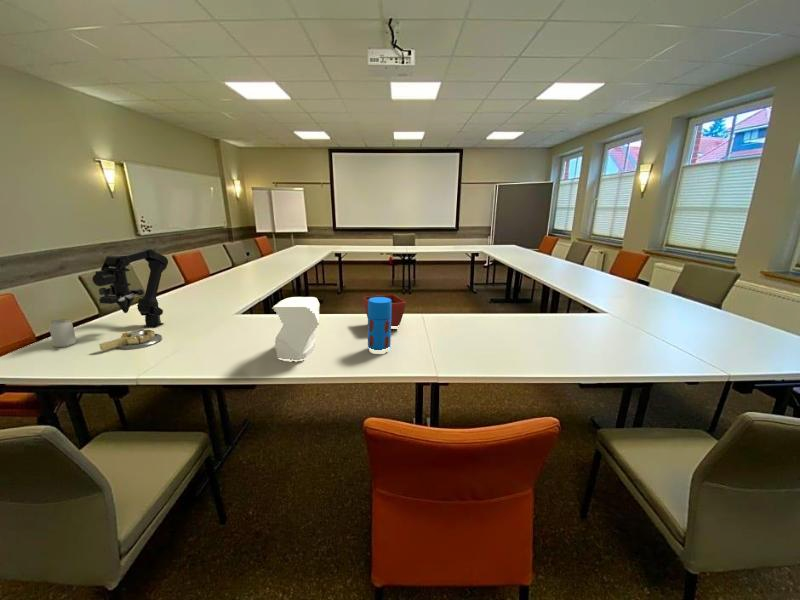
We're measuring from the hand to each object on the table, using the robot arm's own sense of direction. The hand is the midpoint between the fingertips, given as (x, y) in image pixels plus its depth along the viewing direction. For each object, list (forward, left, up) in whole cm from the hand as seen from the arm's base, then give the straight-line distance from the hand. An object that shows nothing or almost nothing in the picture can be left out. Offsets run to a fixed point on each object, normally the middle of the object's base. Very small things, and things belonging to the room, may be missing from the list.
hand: (125, 312), depth 163 cm
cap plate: (+7, +11, -12) cm, 18 cm away
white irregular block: (+8, +92, -12) cm, 93 cm away
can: (+15, -18, -12) cm, 26 cm away
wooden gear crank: (+11, +9, -11) cm, 18 cm away
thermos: (-1, +126, -12) cm, 127 cm away
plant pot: (-33, +124, -12) cm, 129 cm away
